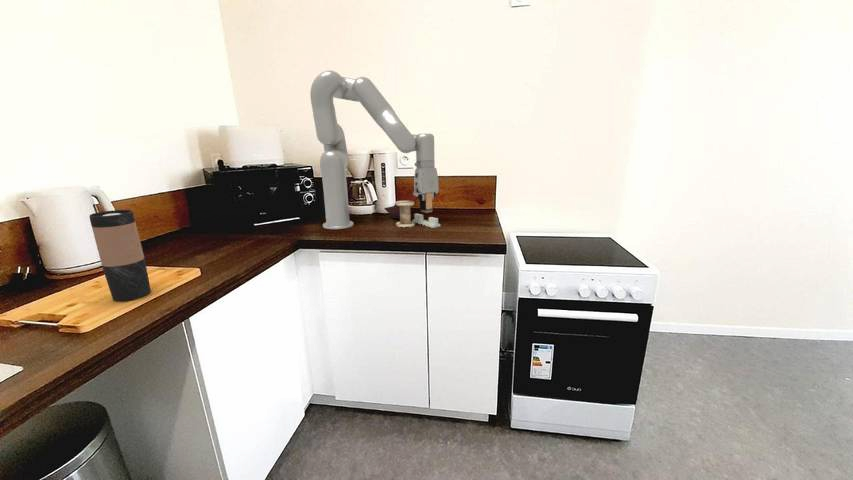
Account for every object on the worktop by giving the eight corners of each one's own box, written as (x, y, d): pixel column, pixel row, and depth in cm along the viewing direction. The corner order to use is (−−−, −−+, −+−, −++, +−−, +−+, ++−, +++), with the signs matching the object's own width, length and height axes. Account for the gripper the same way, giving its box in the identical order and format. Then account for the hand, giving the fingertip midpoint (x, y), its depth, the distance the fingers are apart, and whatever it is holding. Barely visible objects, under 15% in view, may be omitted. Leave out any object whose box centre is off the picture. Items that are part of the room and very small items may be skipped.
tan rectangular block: (420, 211, 152) (420, 192, 149) (426, 210, 154) (426, 191, 151) (426, 212, 149) (426, 193, 146) (432, 211, 150) (432, 192, 148)
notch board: (412, 222, 157) (412, 214, 156) (419, 220, 159) (419, 213, 158) (433, 227, 146) (433, 219, 145) (440, 226, 149) (440, 218, 148)
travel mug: (159, 288, 89) (141, 209, 83) (136, 302, 81) (115, 216, 76) (128, 289, 88) (107, 209, 83) (102, 302, 81) (78, 216, 76)
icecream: (377, 204, 163) (402, 211, 155) (388, 198, 168) (413, 204, 160) (380, 218, 167) (404, 225, 158) (390, 211, 172) (414, 218, 163)
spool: (392, 225, 151) (391, 202, 149) (407, 222, 156) (406, 199, 153) (403, 228, 145) (402, 204, 143) (418, 225, 150) (418, 202, 148)
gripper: (415, 166, 138) (416, 213, 143) (446, 164, 148) (446, 207, 153) (403, 165, 144) (405, 210, 149) (434, 163, 154) (435, 205, 159)
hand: (426, 208), depth 151 cm, fingers closed on tan rectangular block, 3 cm apart
